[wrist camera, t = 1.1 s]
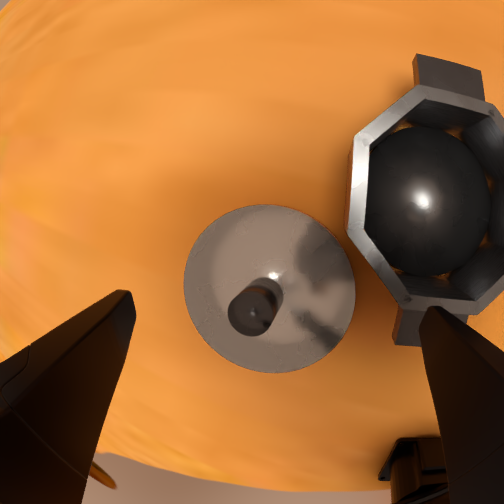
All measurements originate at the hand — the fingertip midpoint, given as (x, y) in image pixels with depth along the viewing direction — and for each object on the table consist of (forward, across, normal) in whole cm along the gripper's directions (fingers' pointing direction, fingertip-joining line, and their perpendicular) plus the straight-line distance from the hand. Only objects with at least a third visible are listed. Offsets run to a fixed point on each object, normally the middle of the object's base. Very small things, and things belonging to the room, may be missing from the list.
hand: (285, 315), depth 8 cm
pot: (+12, -11, 0) cm, 16 cm away
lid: (+12, 0, +8) cm, 15 cm away
